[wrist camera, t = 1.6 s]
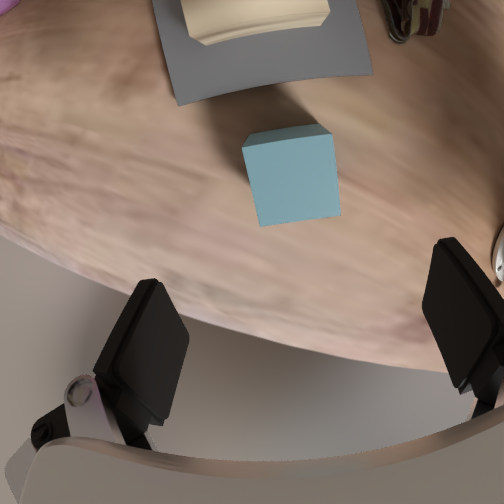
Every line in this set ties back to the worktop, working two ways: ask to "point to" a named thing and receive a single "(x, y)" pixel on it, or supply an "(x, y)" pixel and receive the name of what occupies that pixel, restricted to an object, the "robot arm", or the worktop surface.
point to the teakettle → (7, 5)
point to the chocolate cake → (413, 17)
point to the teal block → (292, 174)
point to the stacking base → (258, 43)
